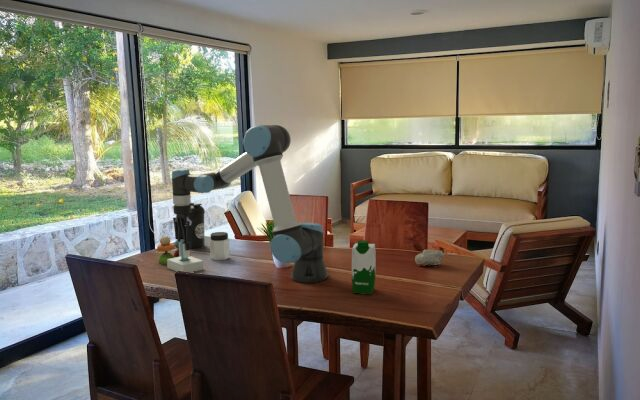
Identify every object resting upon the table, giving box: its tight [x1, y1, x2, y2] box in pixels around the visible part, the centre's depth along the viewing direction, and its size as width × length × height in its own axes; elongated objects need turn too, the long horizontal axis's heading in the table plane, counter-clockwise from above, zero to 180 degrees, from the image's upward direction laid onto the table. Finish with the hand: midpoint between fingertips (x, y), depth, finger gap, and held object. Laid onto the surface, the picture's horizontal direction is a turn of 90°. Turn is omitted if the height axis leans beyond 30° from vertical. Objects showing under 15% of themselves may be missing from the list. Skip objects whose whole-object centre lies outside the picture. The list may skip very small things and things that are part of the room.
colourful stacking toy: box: [156, 235, 196, 265], centre depth 246 cm, size 18×17×12 cm
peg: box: [180, 239, 188, 262], centre depth 230 cm, size 3×3×12 cm
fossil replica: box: [414, 249, 445, 265], centre depth 231 cm, size 12×8×10 cm
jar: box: [209, 231, 230, 261], centre depth 247 cm, size 9×8×12 cm
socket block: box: [166, 255, 205, 273], centre depth 231 cm, size 14×10×4 cm
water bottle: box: [189, 202, 206, 250], centre depth 269 cm, size 10×10×23 cm
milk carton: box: [351, 239, 377, 295], centre depth 196 cm, size 9×9×20 cm
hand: (184, 256), depth 230 cm, fingers closed on peg, 3 cm apart
